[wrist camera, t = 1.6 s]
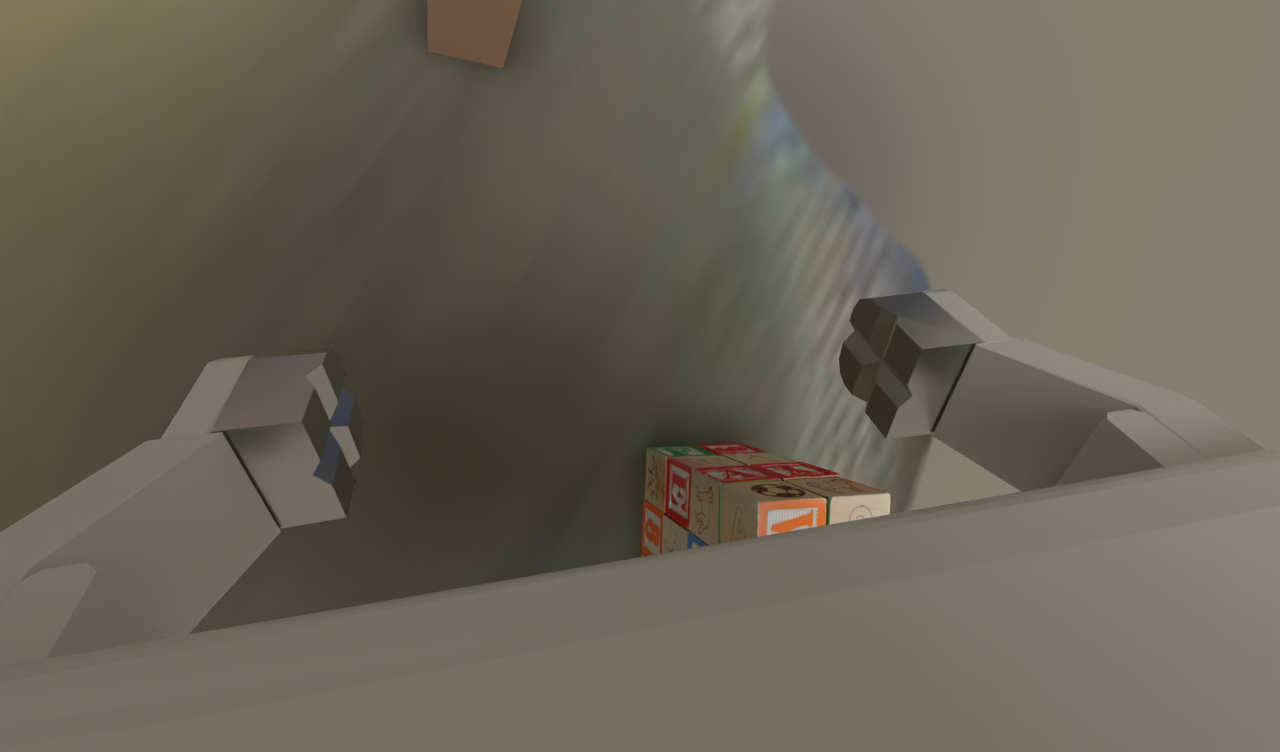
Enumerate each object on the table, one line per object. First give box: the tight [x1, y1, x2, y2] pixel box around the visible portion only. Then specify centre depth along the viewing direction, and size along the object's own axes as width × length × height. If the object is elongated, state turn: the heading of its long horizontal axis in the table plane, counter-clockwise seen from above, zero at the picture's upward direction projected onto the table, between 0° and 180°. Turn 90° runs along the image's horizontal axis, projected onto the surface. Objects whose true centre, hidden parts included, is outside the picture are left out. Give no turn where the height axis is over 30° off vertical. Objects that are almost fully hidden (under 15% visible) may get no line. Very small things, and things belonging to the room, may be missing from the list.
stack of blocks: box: [641, 444, 890, 557], centre depth 28 cm, size 21×6×12 cm, turn 178°
